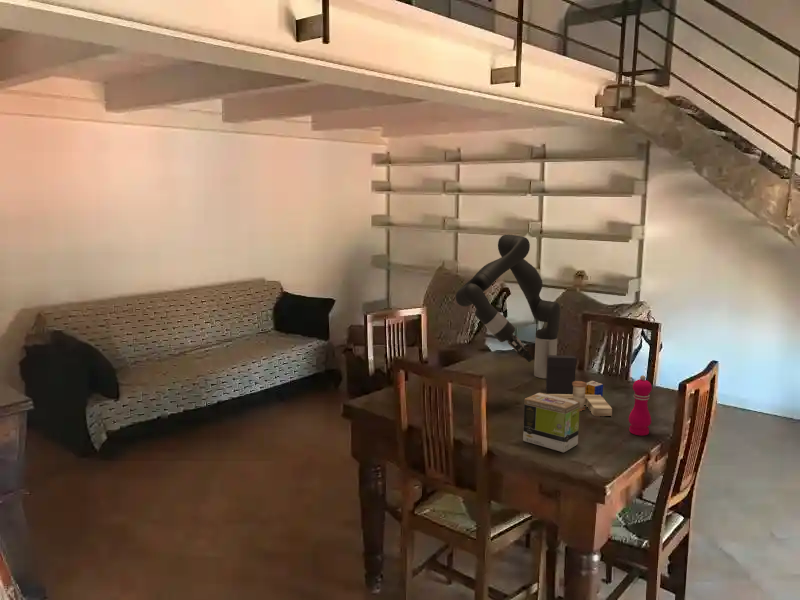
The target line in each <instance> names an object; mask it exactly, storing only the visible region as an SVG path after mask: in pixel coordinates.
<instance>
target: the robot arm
mask: <svg viewBox="0 0 800 600" xmlns="http://www.w3.org/2000/svg"><path fill="white" fill-rule="evenodd" d="M530 246H531V244H530V241H529V239H528V238H527V237H525V236H521V235H516V234H504V235H501V236H500V237H499V239H498V242H497V248H498V249H497V250H498V253H499V255H500V256H501V257H499V258H497V259H495V260H493V261H491V262H489V263H486V264H485V265H484V266H483V267H481V268H480V269H479V270H478V271H477V272H476V273H475V274H474V276H472V278H471V279H470V280H468V281H467V282H466V283H465V284H464V285H462V286H461V287H460V288H459V289H458V290H457V292H456V294H455V301H456V303H457V304H458V305H459V306H460V307H464V308H465V307H469V306H471V305H473V307H475V311H474V315H475V317H476V318H477V319H478V320H479V321H480V322H481V323H482V324H483V325H484V326H485V327H486V329H487V330H488V331H489V333H491V334H492V336H494V337H495V339H497V340H498V342H499V343H504V342H505V341H507V343H508V345H509V346H510V347H511V348H513V349H514V351H516V353H518V354H519V355H520V356H522V357H523V358H524V359H525V360H526V361H527V362H529V363H531V362H532V361H533V359H534V364H533V365H534V366H533V368H534V369H533V376H534V377H536V378H540V379H546V374H547V356H548V355H557V353H558V352H557V351H558V335H559V331H560V320H561V305H560V303H559V302H556V301H551V300H545V299H542V298H541V297H540V293H541V292H542V289H543V280H542V277H541V275H540V274H539V271H538V270H537V269H536V268H535V267H534V266H533V265H532V264H531V263H529V262H528V261H527V260H526V259H525V258H527V255H528V254H529V252H530V248H531V247H530ZM509 270H510V271H511V273H512V274H513V276H514V278H515V280H516V282H517V284H518V286H519V288H520V290H521V291H522V293H523V295H524V297H525V299H526V301H527V303H528V306H529V309H530V312H531V314H532V316H533V318H534V319H535V320H536V321H538V322H542V323H547V324H546V327H544V328H540V329H537V330H536V331H535V341H534V343H535V345H534V357H533V356H532V355H531V354H530V351H529V350H528V349H527V347H525V346H524V344H523V343H522V340H521V339H520V338H519V336H517V335H516V334H515V333H514V332H515V331H516V327H515V326H514V325H513V324H512V323H511V322H510V321H509V320H508V319H507V318H506V317H505V316H504V315H503V314H502V313H501V312H499V311H498V310H497V308H495V307H494V306H493V304H491V302H490V301H489V298H488V297H487V295H486V294H485V292H486V291H487V290H489V288H490V287H491V286H492V285H493V284H494V283H495V282H496V281H497V280H498V279H499V278H500V277H501V276H502V275H504V274H505V273H506V272H507V271H509ZM514 334H515V335H514Z"/></svg>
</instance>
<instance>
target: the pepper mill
mask: <svg viewBox="0 0 800 600" xmlns="http://www.w3.org/2000/svg"><path fill="white" fill-rule="evenodd" d="M652 389H653V387H652V383H651V382H650V381H649V380H647V378H646V375H644V374H642V375H640V377H639V379H637V380H635V381H634V382H633V383H632V390H633V392H634V393H633V398H634V405H633V408H632V410H631V411H630V413H629V415H628V423H629V424H630V425H629V433H631V434H633V435H636V436H642V437H643V436H648V435H649V433H650V428H649V426H651V424H652V417H651V414H650V411H649V407H648V401H649V400H650V396H651V395H650V393H651V392H652Z"/></svg>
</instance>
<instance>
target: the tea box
mask: <svg viewBox="0 0 800 600" xmlns="http://www.w3.org/2000/svg"><path fill="white" fill-rule="evenodd" d="M549 394H550V393H545V392H544V393H543V392H537V393H535V394H533V395H530V396H528V397H526V398H524V403H523V404H524V405H523V428H522V430H523V432H522V433H523V436H522V438H523V439H522V441H523V442H526V443H530V444H534V445H536V446H540V447H543V448H547V449H551V450H553V451H558V452H561V453H565V452H567V451H569V450H571V449H573V448H574V447H575V446H577V445H578V443H579V432H580V431H579V429H580V426H579V424H580V411H579V408H580V401H576V400H571V399H567V398H562V397H558V396H553V395H549Z"/></svg>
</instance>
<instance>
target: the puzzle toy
mask: <svg viewBox="0 0 800 600" xmlns="http://www.w3.org/2000/svg"><path fill="white" fill-rule="evenodd" d="M586 383H587V386H586V387H585V395H601V396H602V397H604V395H603V394H604V384H603V383H600V382H597V381H595V380H590V381H588V382H586Z"/></svg>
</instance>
